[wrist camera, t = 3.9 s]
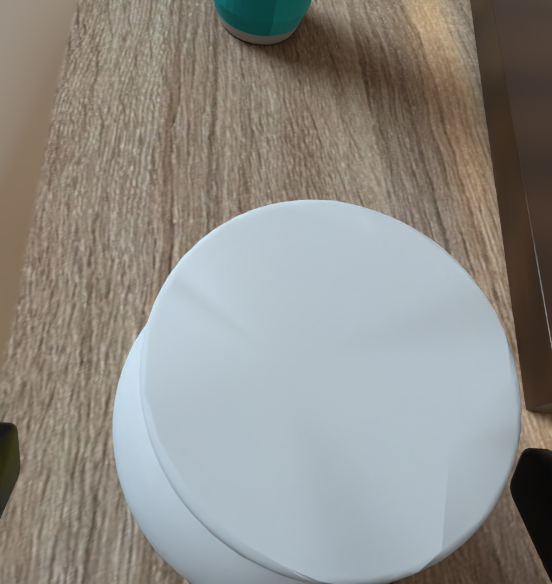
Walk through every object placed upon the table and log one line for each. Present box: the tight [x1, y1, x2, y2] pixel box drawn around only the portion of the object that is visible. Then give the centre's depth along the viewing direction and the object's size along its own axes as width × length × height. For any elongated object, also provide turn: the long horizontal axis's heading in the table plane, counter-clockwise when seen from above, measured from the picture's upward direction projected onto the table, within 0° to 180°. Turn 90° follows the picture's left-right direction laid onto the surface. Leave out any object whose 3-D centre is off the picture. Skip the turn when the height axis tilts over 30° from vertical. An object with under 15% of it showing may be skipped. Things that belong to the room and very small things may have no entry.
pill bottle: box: [113, 200, 522, 584], centre depth 10 cm, size 6×6×12 cm
